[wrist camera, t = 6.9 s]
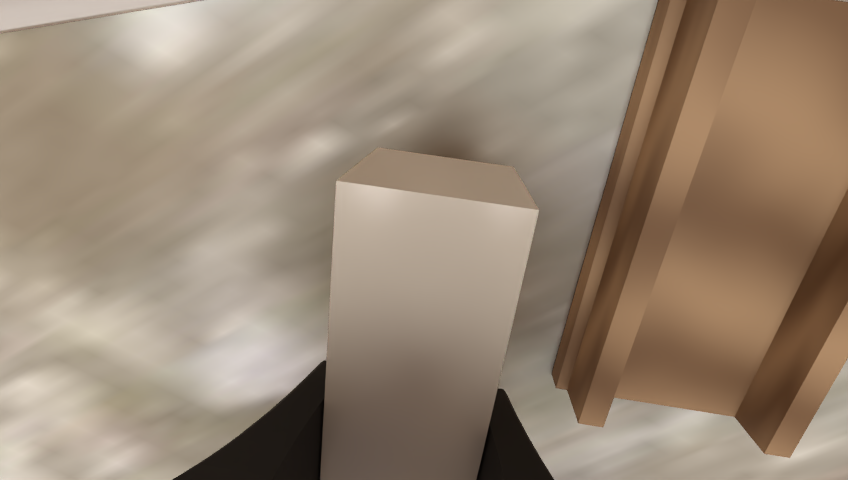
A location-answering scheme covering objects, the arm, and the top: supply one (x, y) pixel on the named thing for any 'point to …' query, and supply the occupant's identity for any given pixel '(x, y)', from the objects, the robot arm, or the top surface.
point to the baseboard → (68, 11)
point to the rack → (722, 224)
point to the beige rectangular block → (420, 313)
